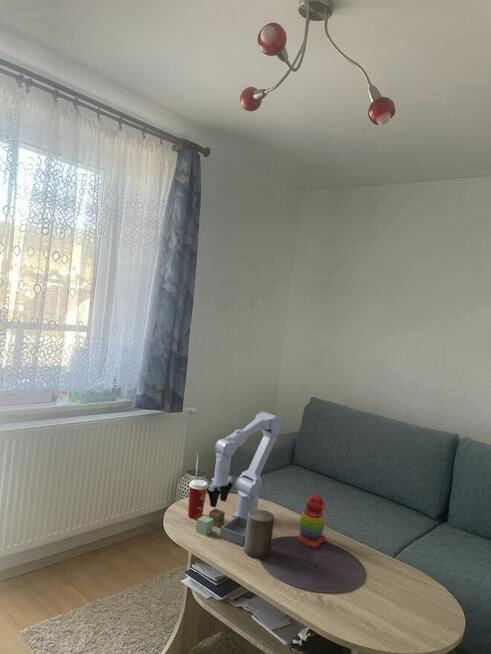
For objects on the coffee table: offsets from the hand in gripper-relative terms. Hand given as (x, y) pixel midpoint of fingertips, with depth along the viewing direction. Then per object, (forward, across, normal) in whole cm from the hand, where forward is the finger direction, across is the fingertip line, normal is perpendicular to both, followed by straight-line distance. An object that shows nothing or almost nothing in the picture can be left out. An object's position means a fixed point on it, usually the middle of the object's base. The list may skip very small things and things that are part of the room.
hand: (218, 503), depth 191 cm
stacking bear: (+8, -14, +35) cm, 39 cm away
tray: (+8, +2, +12) cm, 15 cm away
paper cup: (+8, 0, -10) cm, 13 cm away
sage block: (+8, +8, 0) cm, 12 cm away
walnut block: (+8, 0, 0) cm, 8 cm away
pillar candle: (+8, +8, +23) cm, 25 cm away
